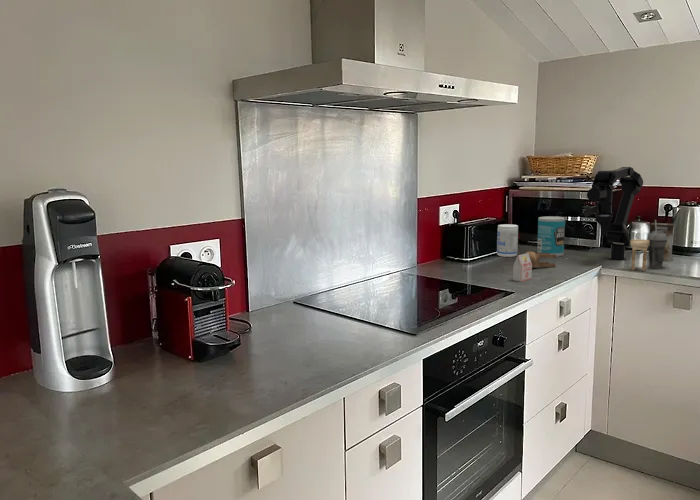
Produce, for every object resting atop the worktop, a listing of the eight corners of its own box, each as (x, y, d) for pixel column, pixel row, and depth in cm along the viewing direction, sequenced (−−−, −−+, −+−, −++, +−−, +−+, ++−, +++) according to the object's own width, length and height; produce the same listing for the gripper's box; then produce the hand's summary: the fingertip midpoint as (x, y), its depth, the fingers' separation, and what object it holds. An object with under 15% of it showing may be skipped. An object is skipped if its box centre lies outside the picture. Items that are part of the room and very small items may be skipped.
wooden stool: (547, 250, 245) (524, 250, 241) (557, 253, 239) (534, 252, 235) (545, 266, 246) (522, 266, 242) (556, 269, 240) (532, 269, 236)
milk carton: (513, 280, 218) (513, 254, 216) (523, 277, 222) (524, 252, 220) (521, 281, 215) (521, 256, 213) (531, 278, 219) (532, 253, 217)
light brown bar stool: (628, 267, 235) (630, 238, 233) (647, 268, 232) (649, 239, 230) (629, 270, 229) (630, 241, 227) (648, 271, 226) (650, 242, 224)
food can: (565, 257, 261) (566, 219, 258) (538, 257, 264) (539, 219, 261) (562, 253, 272) (563, 216, 269) (536, 252, 275) (537, 216, 272)
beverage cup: (669, 269, 229) (672, 220, 226) (651, 269, 230) (654, 220, 226) (659, 265, 237) (662, 218, 233) (642, 266, 237) (645, 219, 233)
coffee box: (647, 259, 250) (649, 224, 247) (648, 257, 255) (650, 222, 252) (671, 261, 245) (673, 224, 242) (671, 259, 250) (674, 223, 247)
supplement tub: (492, 255, 271) (493, 225, 269) (505, 253, 277) (505, 223, 274) (509, 258, 263) (509, 227, 261) (521, 255, 269) (522, 225, 267)
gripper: (585, 198, 253) (584, 232, 255) (583, 201, 236) (581, 238, 239) (613, 198, 248) (611, 233, 251) (612, 201, 231) (610, 239, 234)
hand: (603, 235), depth 244 cm, fingers closed
